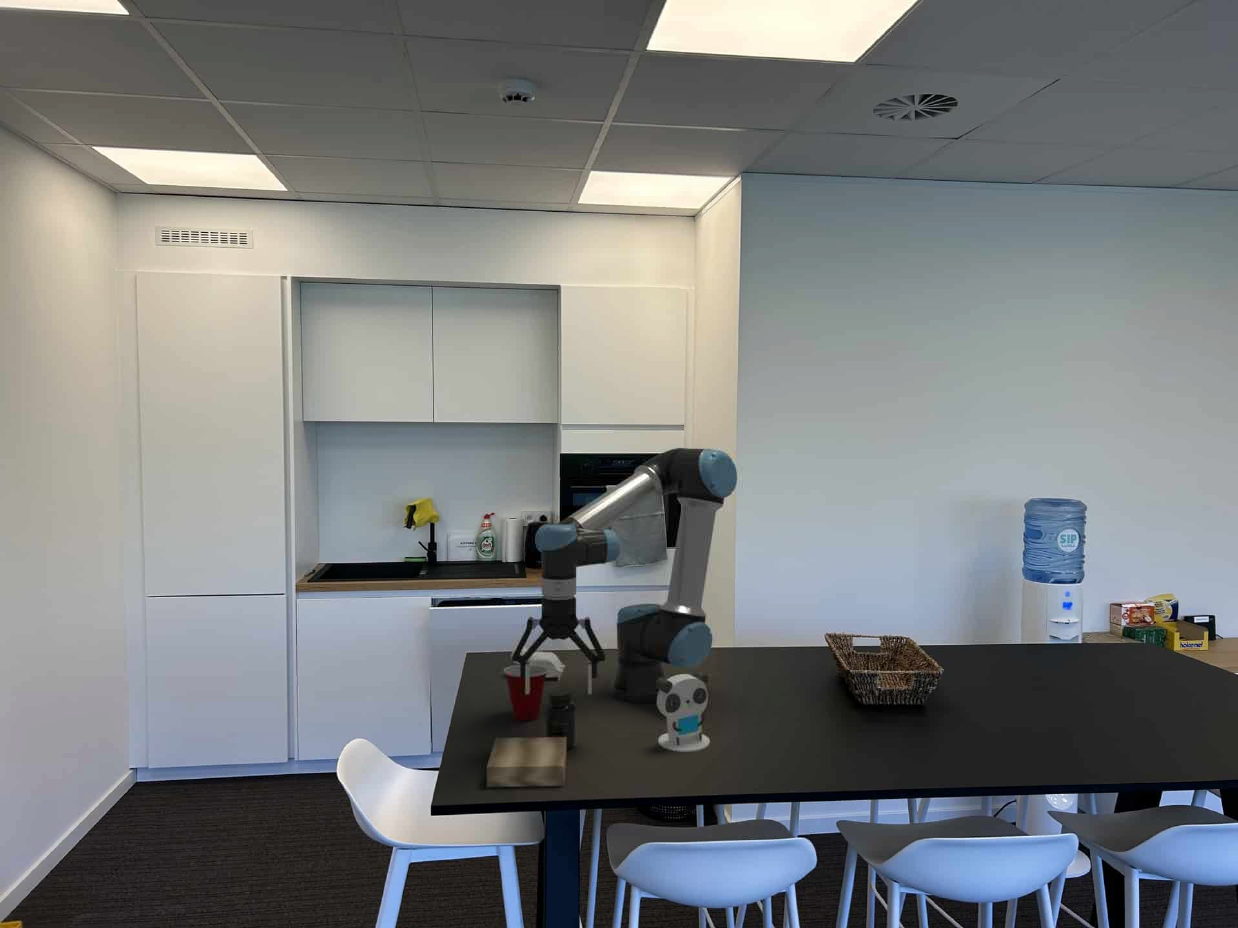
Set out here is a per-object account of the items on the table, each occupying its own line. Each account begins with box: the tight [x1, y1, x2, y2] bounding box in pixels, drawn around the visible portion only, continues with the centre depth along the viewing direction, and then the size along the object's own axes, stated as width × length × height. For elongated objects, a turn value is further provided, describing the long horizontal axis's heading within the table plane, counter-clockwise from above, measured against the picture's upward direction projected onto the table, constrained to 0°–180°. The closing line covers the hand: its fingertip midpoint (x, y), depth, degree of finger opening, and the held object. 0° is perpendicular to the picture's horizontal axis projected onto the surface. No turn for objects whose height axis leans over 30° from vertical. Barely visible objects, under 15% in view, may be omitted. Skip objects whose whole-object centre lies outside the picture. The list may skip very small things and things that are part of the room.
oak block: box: [486, 736, 568, 788], centre depth 179 cm, size 15×15×4 cm
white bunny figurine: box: [510, 646, 566, 681], centre depth 241 cm, size 9×8×15 cm
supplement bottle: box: [544, 688, 577, 751], centre depth 192 cm, size 7×7×12 cm
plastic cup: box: [503, 664, 549, 722], centre depth 209 cm, size 11×11×12 cm
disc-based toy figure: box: [656, 670, 711, 753], centre depth 193 cm, size 12×11×15 cm
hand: (558, 692), depth 191 cm, fingers open, 13 cm apart
